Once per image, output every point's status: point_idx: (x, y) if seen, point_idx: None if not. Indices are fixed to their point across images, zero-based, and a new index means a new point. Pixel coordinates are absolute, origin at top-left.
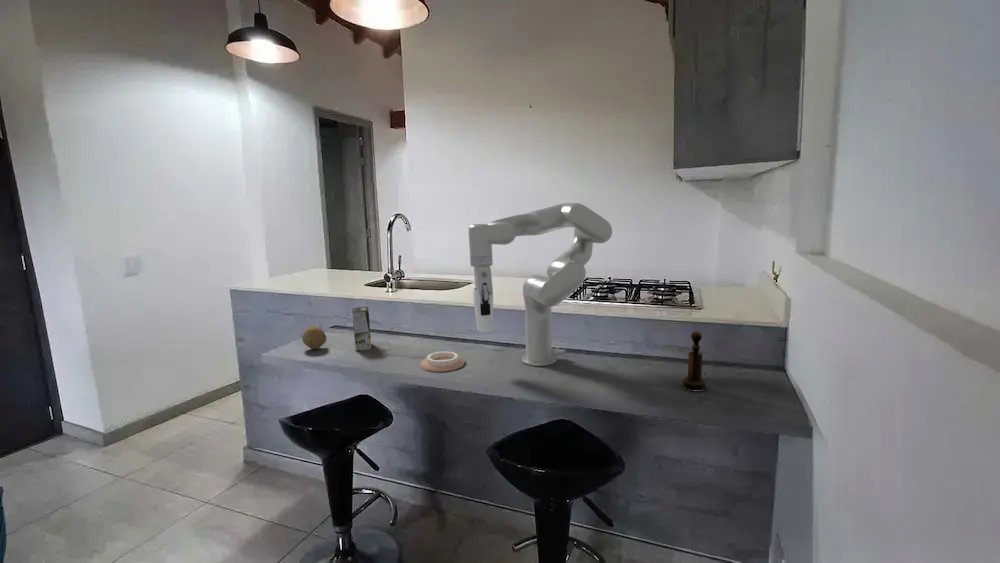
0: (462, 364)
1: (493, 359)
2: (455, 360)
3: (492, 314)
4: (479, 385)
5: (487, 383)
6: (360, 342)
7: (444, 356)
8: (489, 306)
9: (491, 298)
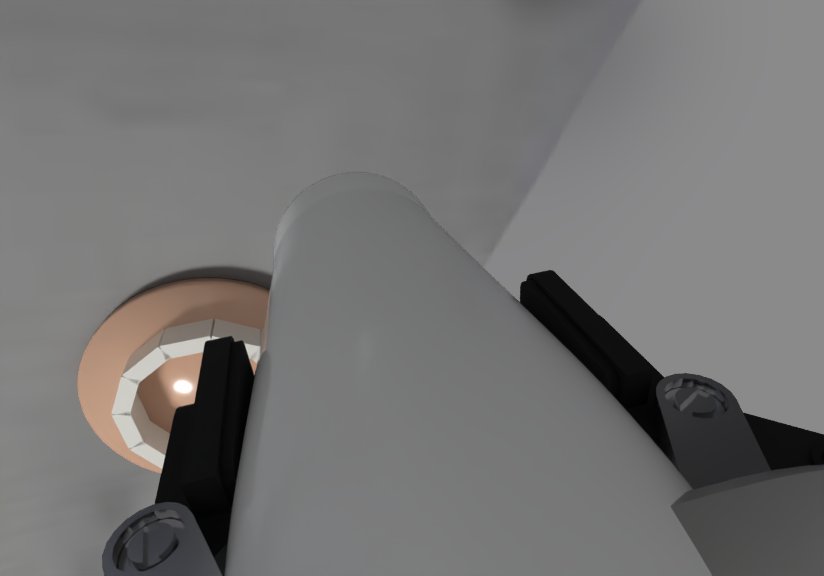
0: (253, 289)
1: (100, 93)
2: (247, 335)
3: (424, 231)
4: (534, 180)
5: (520, 140)
6: None
7: (137, 399)
8: (617, 341)
9: (608, 400)
